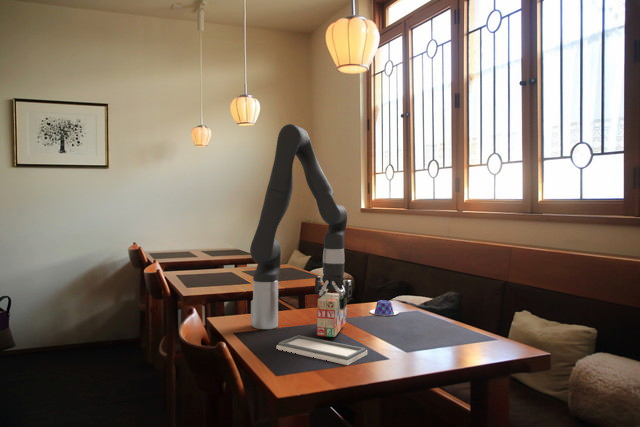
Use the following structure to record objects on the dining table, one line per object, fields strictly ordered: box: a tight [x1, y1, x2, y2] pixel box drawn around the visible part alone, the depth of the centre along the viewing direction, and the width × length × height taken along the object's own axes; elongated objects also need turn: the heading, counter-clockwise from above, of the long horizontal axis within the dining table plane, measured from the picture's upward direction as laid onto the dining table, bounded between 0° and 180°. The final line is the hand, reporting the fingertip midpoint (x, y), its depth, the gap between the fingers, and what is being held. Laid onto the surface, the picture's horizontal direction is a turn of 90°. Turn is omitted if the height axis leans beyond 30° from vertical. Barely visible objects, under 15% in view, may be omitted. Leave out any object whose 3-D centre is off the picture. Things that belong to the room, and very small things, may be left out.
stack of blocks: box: [316, 292, 347, 338], centre depth 174 cm, size 21×6×12 cm, turn 166°
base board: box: [276, 334, 369, 366], centre depth 153 cm, size 26×12×2 cm, turn 56°
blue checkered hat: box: [369, 300, 399, 317], centre depth 207 cm, size 12×12×5 cm
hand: (332, 307), depth 174 cm, fingers closed on stack of blocks, 7 cm apart
